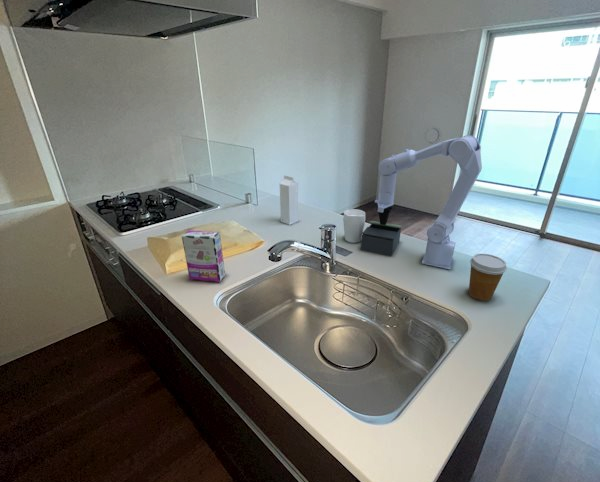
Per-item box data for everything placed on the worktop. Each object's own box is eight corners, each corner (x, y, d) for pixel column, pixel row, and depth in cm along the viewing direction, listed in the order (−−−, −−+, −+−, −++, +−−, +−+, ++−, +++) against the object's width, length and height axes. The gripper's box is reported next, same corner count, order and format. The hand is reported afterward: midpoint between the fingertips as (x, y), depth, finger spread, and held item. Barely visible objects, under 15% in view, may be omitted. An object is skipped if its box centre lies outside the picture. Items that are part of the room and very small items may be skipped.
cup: (357, 246, 130) (359, 218, 125) (338, 240, 135) (339, 213, 130) (367, 238, 136) (369, 211, 131) (348, 233, 141) (350, 207, 136)
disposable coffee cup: (460, 298, 97) (469, 263, 92) (464, 283, 104) (472, 250, 99) (496, 307, 92) (507, 272, 87) (498, 291, 100) (508, 257, 95)
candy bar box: (226, 275, 110) (220, 231, 103) (220, 282, 106) (214, 237, 99) (195, 272, 112) (188, 229, 105) (188, 280, 108) (180, 235, 101)
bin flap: (372, 222, 135) (372, 220, 135) (401, 226, 130) (401, 225, 130) (368, 222, 129) (368, 221, 129) (398, 228, 124) (398, 226, 123)
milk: (289, 225, 151) (288, 179, 141) (280, 221, 155) (278, 176, 145) (298, 221, 155) (297, 176, 145) (289, 218, 159) (288, 174, 149)
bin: (370, 236, 138) (372, 220, 135) (399, 242, 133) (401, 225, 130) (360, 250, 127) (362, 232, 123) (391, 256, 121) (393, 238, 118)
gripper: (381, 184, 128) (378, 216, 134) (370, 194, 116) (367, 228, 122) (399, 186, 125) (395, 219, 131) (390, 196, 113) (386, 232, 119)
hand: (383, 224), depth 126 cm, fingers closed
